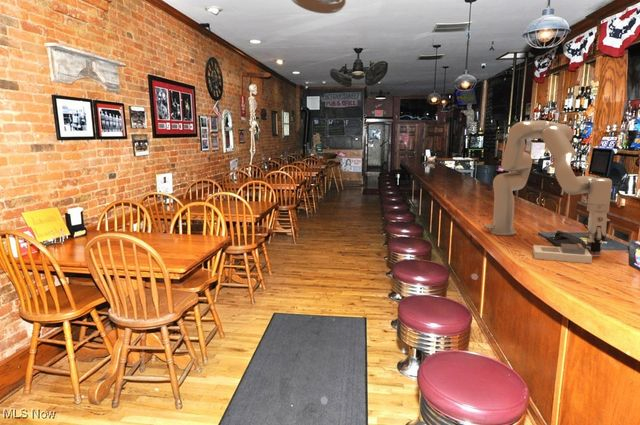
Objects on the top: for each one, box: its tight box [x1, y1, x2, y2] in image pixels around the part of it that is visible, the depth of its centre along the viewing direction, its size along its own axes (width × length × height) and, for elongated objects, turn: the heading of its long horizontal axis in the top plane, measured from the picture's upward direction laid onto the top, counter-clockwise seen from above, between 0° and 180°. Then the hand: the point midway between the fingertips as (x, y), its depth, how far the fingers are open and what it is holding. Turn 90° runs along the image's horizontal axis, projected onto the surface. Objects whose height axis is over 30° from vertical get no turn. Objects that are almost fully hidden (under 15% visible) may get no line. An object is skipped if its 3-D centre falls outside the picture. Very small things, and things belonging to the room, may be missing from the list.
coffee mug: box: [582, 217, 611, 242], centre depth 190 cm, size 12×9×10 cm
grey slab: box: [561, 243, 585, 254], centre depth 163 cm, size 8×8×3 cm
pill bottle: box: [586, 234, 603, 257], centre depth 166 cm, size 5×5×9 cm
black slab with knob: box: [546, 230, 587, 249], centre depth 182 cm, size 15×22×5 cm
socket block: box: [532, 244, 593, 264], centre depth 165 cm, size 20×11×3 cm, turn 66°
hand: (593, 249), depth 167 cm, fingers closed on pill bottle, 5 cm apart
